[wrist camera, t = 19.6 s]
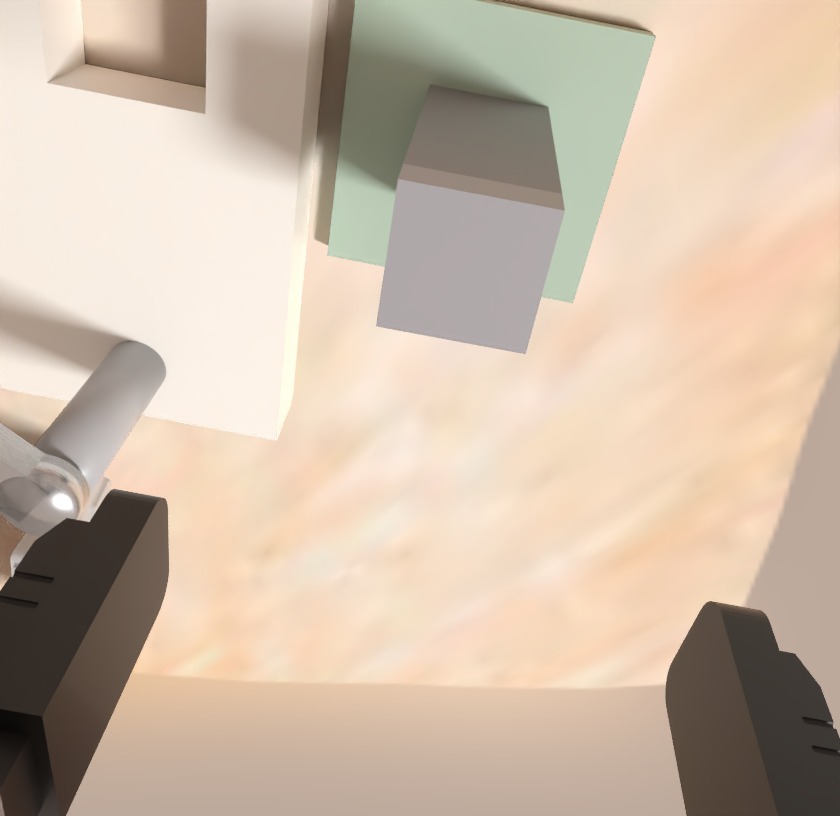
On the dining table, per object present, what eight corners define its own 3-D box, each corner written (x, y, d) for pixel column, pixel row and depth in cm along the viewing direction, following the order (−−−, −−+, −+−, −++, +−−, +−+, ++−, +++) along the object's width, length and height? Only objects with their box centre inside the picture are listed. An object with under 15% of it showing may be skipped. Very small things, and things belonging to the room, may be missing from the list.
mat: (361, -26, 27) (357, -24, 26) (652, 32, 27) (655, 36, 27) (330, 247, 33) (327, 255, 32) (571, 294, 33) (572, 303, 32)
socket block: (-38, -217, 25) (-317, -254, 17) (342, -139, 25) (258, -137, 17) (34, 353, 37) (-106, 500, 29) (292, 401, 37) (228, 562, 29)
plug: (430, 84, 28) (398, 179, 20) (548, 107, 28) (565, 210, 20) (411, 199, 30) (376, 326, 22) (520, 219, 30) (525, 353, 22)
